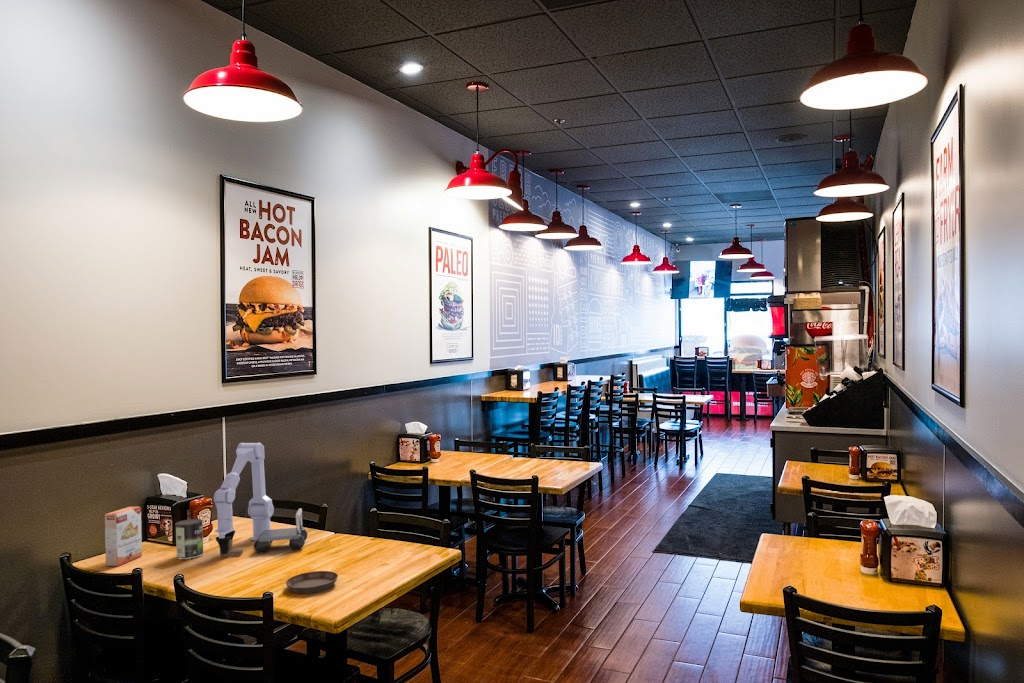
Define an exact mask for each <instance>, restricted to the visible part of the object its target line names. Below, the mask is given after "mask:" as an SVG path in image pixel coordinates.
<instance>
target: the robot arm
mask: <svg viewBox="0 0 1024 683" xmlns="http://www.w3.org/2000/svg"><path fill="white" fill-rule="evenodd" d="M235 454H236V458H235V461H234V464H233V466H232V469H231V471H230V472H229V473H227V474H226V476H225V477H224V480H223V482H222V484H221V485H220V488H219V489H217V490H216V491H215V492H214V494H213V502H214V503H215V507H216V511H217V512H216V513H217V516H216V517H217V529H214V533H217V534H218V536H216V537H215V540H216V542H217V544H218V547H219V551H220V550H221V553H222V554H227V553H228V545H229V541H230V539H232V541H233V540H234V536H235V533H236V530H234V520H233V517H234V516H233V502H234V500H235V499H236V493H237V492H236V489H237V487H238V486H239V483H240V481H241V478H240V474H241V473H242V471H243V470H244V467H245V466H246V465H247V463H248V462H250V464H251V478H252V479H251V480H252V494H253V495H252V498H251V499H250V500H249V501H248V508H247V513H248V516H249V517H250V519H251V520H252V533H253V534H252V536H253V537H252V538H251V539H250V541H251V540H254V541H256V540H257V539H258V538H259V536H260V534H261V533H262V532H263V531H264V530H272V529H271V528H272V526H271V518H272V516H273V515H274V513H275V512H274V511H275V507H274V505H273V499H272V498H270V497H269V496H268V495H267V494H266V478H265V477H266V476H265V462H264V460H265V459H266V458H265V457H266V455H265V445H263V444H262V443H261V442H240V443H239V444H238V445H237V448H236V450H235Z"/></svg>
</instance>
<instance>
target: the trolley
mask: <svg viewBox="0 0 1024 683" xmlns="http://www.w3.org/2000/svg"><path fill="white" fill-rule="evenodd" d="M295 525H296V526H295V527H290V528H288V527H287V528H278V529H276V528H275V529H271V530H264V531H263V532H262V533H261V534H260V536H259V538H258V539H257V540H255V542H254V544H253V549H254V550H255V552H256V553H258V554H263V553H266V552H267V551H268V550H269V548H270V546H271V545H272V543H273V542H274V541H285V540H286V541H287V540H289V543H288V544H289V547H290V549H292V550H293V551H299V550H301V549H303V548H304V545H305V542H306V540H307V538H308V531H307V530H306V529H305V528H304V527H303V508H301V507H300V508H298V510H297V511H296V514H295Z"/></svg>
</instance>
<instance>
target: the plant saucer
mask: <svg viewBox="0 0 1024 683" xmlns="http://www.w3.org/2000/svg"><path fill="white" fill-rule="evenodd" d="M338 577H339V575H338V573H336V572H335V571H328V570H318V571H308V572H304V573H299V574H297V575H293V576H291V577H289V578H287V580H285V585H286V586H287V588H288V589H289V590H290V591H291V592H293V593H297V594H315V593H319V592H323V591H326V590H328V589H330V588H331V587H333V585H335V583H336V581H337V579H338Z"/></svg>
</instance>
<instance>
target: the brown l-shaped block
mask: <svg viewBox="0 0 1024 683" xmlns="http://www.w3.org/2000/svg"><path fill="white" fill-rule="evenodd" d="M243 549H244V548H243V547H240V548H237V547H236V548H233V540H232V539H230V541H229V545H228V553H227V554H222V553H221V550H220V549H219V558H220V557H221V558H230V557H229V556H233V557H241V556H242V555H243V553H244V550H243Z"/></svg>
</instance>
